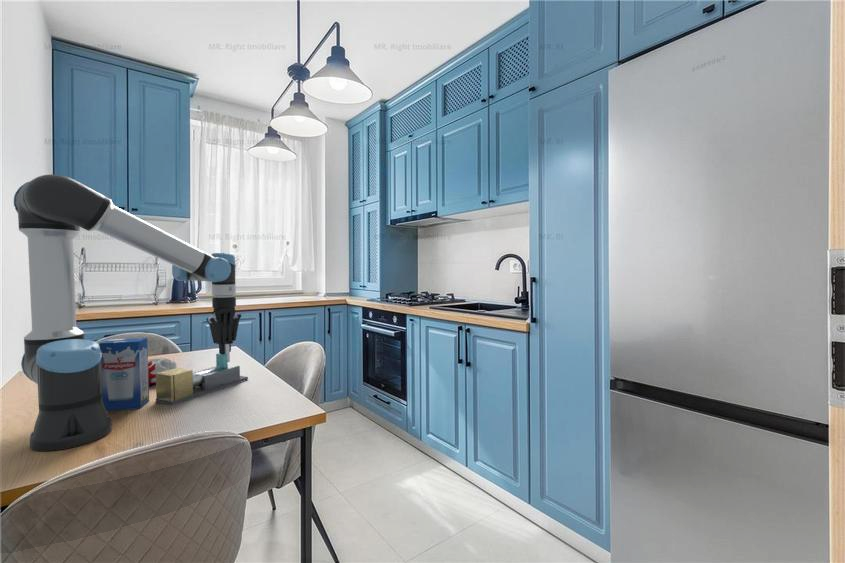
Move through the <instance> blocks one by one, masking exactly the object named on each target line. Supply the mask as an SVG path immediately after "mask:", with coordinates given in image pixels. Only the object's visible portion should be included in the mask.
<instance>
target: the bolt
mask: <svg viewBox="0 0 845 563" xmlns="http://www.w3.org/2000/svg"><path fill="white" fill-rule="evenodd" d="M215 358H216V359H215V363H216V364H215V365H216V368H213V369H210V370H206V371H202V372H199V373H195V374H193V387H194V386H197V385H200V384H202V375H206V374H209V373H213V372H216V371H220V370H223V369H227V364H228V363H227V354H225V353H224V354H220V353H219V352H217V353H216V354H215Z"/></svg>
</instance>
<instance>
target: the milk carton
mask: <svg viewBox="0 0 845 563" xmlns="http://www.w3.org/2000/svg"><path fill="white" fill-rule="evenodd" d="M98 344H99V346H100V351H101V354H102V358H101V374H102V401H103V403H104V406H105V408H106V410H107V412H110V411H114V412H115V411H122V410H136V409H141V408H143V407H144V406H146V405H147V404H148V403H149V402H150V385H149V379H148V359H149V357H148V356H149V355H148V354H149V351H148V350H149V349H148V337H135V338H133V337H132V338H131V337H130V338H111V339H110V338H109V339H107V340H104V341H102V342H99V343H98Z"/></svg>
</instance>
